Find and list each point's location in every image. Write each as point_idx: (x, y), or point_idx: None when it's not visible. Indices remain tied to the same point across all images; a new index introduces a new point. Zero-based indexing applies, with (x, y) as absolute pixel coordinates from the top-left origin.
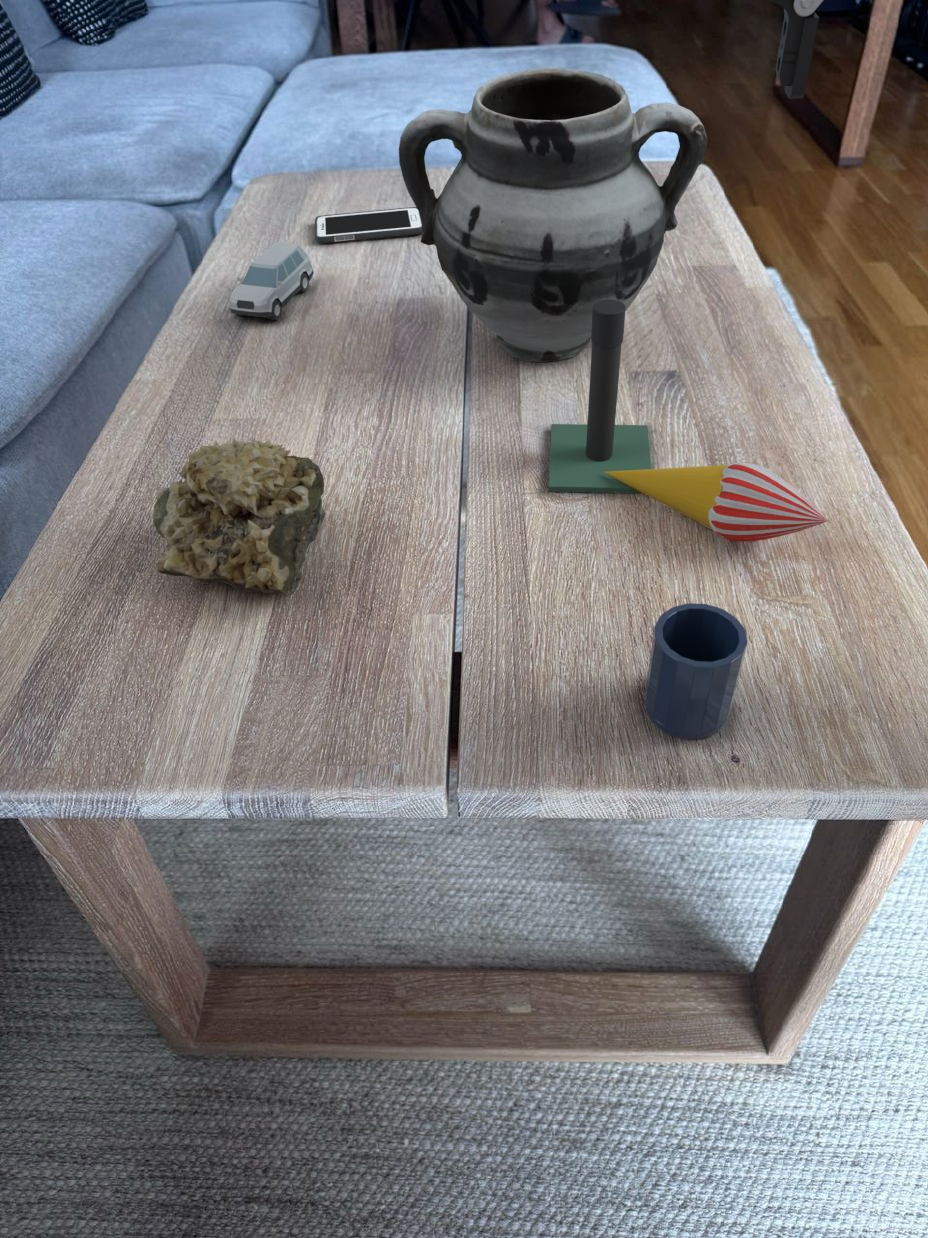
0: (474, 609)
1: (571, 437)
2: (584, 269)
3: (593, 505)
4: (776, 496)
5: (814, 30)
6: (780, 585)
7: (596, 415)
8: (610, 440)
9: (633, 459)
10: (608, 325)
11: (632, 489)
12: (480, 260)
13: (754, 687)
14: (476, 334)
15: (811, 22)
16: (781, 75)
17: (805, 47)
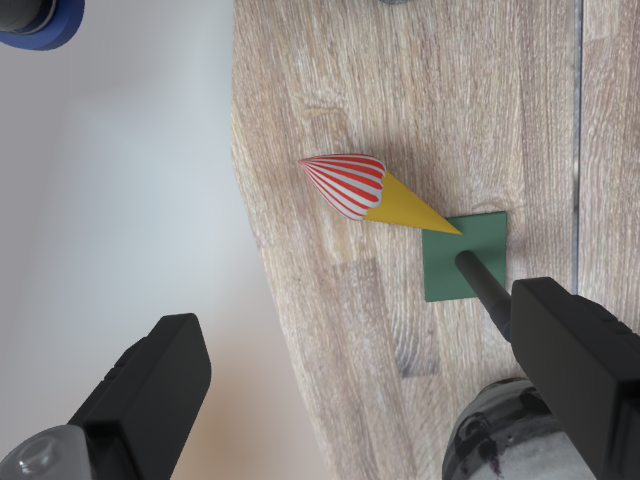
0: (565, 51)
1: None
2: (527, 419)
3: (467, 199)
4: (339, 171)
5: (602, 354)
6: (326, 126)
7: (484, 268)
8: (462, 261)
9: (437, 256)
10: None
11: None
12: None
13: (346, 4)
14: None
15: (631, 368)
16: (593, 306)
17: (591, 330)
